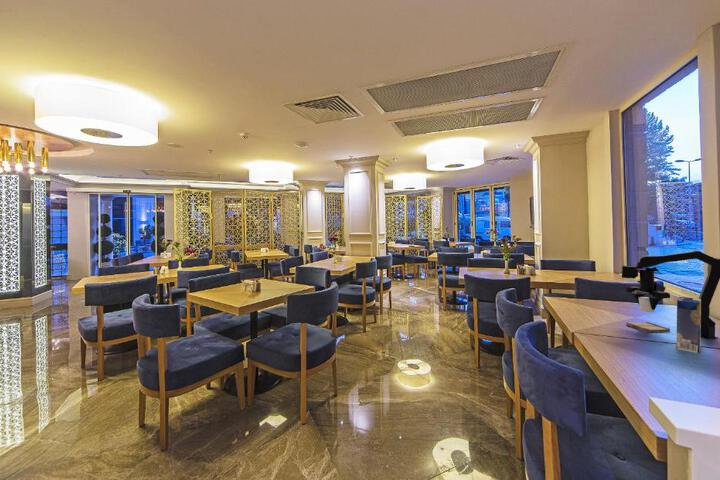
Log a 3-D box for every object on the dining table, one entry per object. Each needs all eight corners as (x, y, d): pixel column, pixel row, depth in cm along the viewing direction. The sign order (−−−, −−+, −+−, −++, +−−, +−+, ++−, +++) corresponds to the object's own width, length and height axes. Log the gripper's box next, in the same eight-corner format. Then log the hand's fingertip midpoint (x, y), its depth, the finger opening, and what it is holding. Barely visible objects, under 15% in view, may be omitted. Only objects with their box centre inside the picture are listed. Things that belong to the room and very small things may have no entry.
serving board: (669, 331, 157) (669, 328, 157) (647, 332, 157) (647, 329, 157) (647, 324, 169) (647, 321, 169) (626, 325, 169) (626, 322, 169)
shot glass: (659, 312, 158) (659, 299, 158) (644, 312, 160) (644, 299, 159) (649, 309, 165) (649, 296, 165) (635, 309, 166) (635, 296, 166)
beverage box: (700, 346, 138) (701, 298, 137) (699, 353, 131) (700, 303, 130) (678, 342, 143) (679, 296, 142) (676, 348, 136) (677, 300, 135)
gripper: (680, 281, 153) (680, 311, 153) (644, 276, 172) (644, 303, 172) (659, 282, 153) (659, 313, 153) (625, 276, 171) (625, 304, 172)
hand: (647, 308), depth 162 cm, fingers closed on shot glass, 6 cm apart
